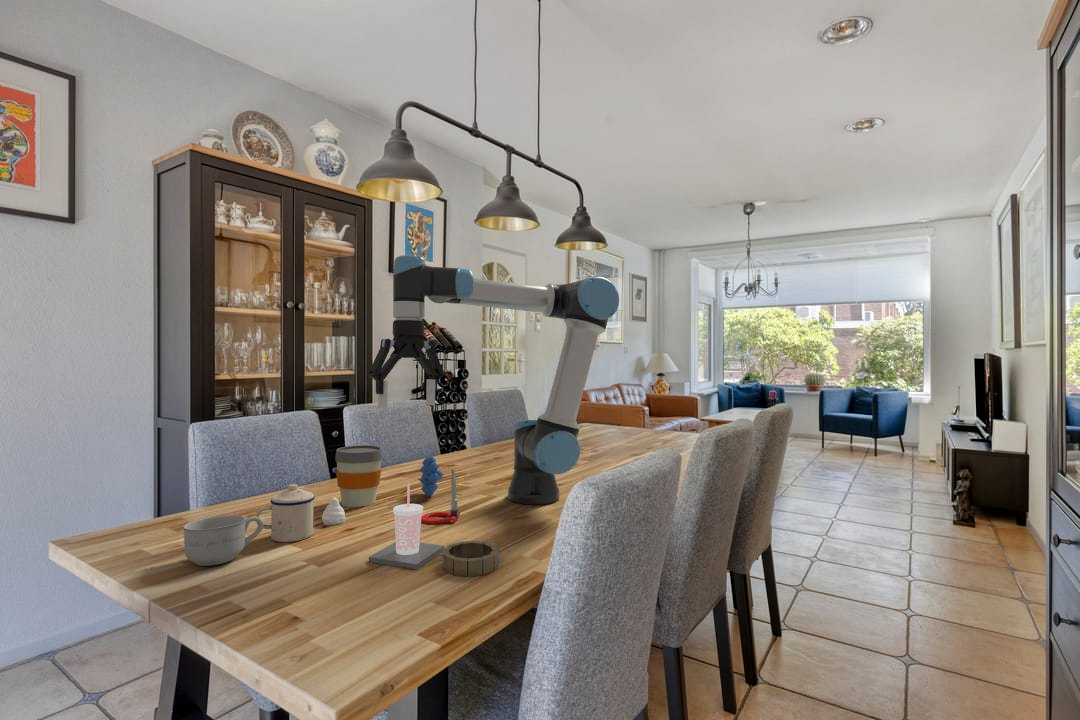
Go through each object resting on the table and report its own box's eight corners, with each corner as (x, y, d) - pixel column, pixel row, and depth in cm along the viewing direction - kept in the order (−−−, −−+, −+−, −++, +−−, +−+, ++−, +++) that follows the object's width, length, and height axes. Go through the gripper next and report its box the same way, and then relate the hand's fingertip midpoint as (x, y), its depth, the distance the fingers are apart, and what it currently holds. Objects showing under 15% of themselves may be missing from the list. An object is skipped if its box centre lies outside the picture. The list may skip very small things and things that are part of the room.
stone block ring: (473, 551, 117) (474, 537, 117) (509, 565, 109) (509, 550, 109) (431, 565, 109) (431, 550, 109) (466, 581, 101) (466, 565, 101)
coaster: (399, 544, 121) (399, 539, 120) (444, 550, 117) (444, 545, 117) (368, 561, 110) (368, 556, 110) (416, 569, 107) (416, 564, 107)
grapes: (449, 499, 158) (450, 457, 158) (426, 502, 155) (427, 459, 155) (437, 490, 168) (437, 451, 168) (415, 492, 165) (415, 452, 165)
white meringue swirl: (349, 498, 135) (326, 502, 131) (348, 523, 135) (326, 527, 131) (340, 494, 139) (318, 497, 135) (340, 518, 139) (318, 522, 136)
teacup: (179, 575, 102) (180, 532, 102) (186, 555, 112) (186, 516, 112) (263, 563, 109) (263, 522, 109) (262, 545, 118) (263, 508, 118)
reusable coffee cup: (363, 494, 162) (364, 443, 162) (391, 501, 155) (392, 448, 154) (325, 503, 152) (325, 449, 152) (353, 511, 144) (353, 454, 144)
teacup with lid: (312, 528, 131) (313, 479, 131) (315, 539, 122) (316, 487, 122) (256, 534, 125) (256, 483, 125) (254, 547, 117) (255, 492, 117)
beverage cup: (386, 553, 112) (386, 484, 112) (405, 544, 118) (405, 478, 118) (410, 558, 110) (411, 488, 109) (428, 548, 115) (429, 481, 115)
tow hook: (417, 525, 135) (454, 525, 135) (415, 473, 135) (452, 472, 135) (425, 516, 143) (461, 515, 143) (424, 466, 143) (459, 465, 143)
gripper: (441, 323, 147) (439, 402, 147) (353, 317, 128) (352, 408, 129) (458, 322, 141) (457, 404, 142) (370, 316, 123) (369, 410, 123)
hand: (407, 406), depth 135 cm, fingers open, 13 cm apart
